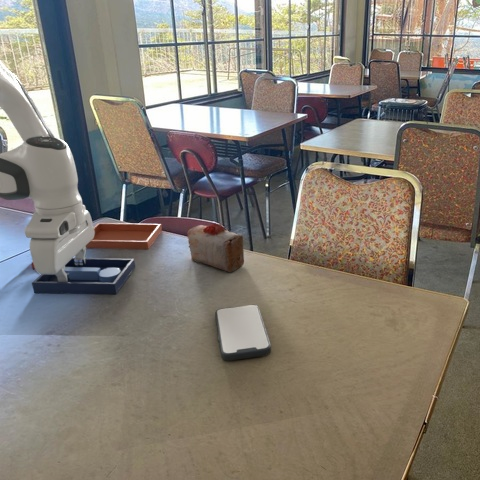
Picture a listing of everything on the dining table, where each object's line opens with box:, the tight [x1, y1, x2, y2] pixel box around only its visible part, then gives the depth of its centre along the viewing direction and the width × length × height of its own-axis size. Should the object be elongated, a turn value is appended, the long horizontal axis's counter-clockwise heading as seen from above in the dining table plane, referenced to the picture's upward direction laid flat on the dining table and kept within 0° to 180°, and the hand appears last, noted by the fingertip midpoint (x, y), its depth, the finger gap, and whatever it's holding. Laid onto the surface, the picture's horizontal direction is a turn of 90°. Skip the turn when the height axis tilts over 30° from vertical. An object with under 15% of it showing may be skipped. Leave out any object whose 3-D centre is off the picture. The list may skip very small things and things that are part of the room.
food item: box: [187, 221, 245, 273], centre depth 115 cm, size 14×8×10 cm, turn 59°
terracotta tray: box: [86, 222, 163, 250], centre depth 127 cm, size 17×12×2 cm
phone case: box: [214, 304, 272, 362], centre depth 89 cm, size 9×2×16 cm
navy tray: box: [31, 257, 136, 295], centre depth 107 cm, size 17×12×2 cm
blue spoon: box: [64, 267, 121, 283], centre depth 107 cm, size 13×5×2 cm, turn 91°
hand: (72, 273), depth 106 cm, fingers open, 6 cm apart
